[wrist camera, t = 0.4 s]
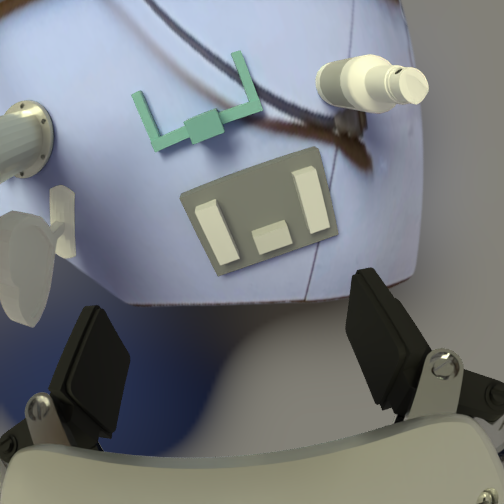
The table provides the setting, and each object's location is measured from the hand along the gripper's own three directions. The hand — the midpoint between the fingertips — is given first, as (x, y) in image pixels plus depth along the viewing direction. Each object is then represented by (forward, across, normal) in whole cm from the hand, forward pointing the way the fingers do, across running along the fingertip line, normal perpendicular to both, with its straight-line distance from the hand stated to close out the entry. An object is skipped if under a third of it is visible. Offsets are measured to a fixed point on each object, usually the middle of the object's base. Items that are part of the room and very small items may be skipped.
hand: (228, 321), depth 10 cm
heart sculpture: (+31, +28, +6) cm, 43 cm away
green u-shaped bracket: (+32, +3, -7) cm, 33 cm away
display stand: (+32, -4, +10) cm, 34 cm away
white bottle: (+32, -17, -8) cm, 37 cm away
